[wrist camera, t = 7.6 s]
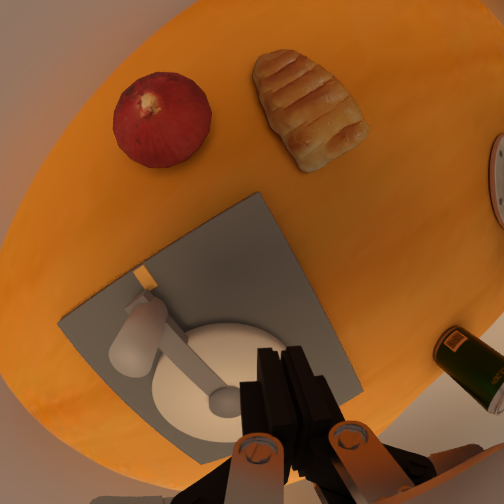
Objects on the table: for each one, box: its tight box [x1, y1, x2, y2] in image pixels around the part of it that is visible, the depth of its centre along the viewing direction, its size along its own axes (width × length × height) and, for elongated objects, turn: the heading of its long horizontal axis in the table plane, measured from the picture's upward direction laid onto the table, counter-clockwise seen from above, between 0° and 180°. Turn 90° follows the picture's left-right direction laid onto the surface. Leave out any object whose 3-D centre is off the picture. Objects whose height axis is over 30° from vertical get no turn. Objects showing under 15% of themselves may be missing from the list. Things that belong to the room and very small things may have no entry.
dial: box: [109, 289, 286, 443], centre depth 18 cm, size 16×12×7 cm
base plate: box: [57, 191, 364, 465], centre depth 22 cm, size 20×22×1 cm
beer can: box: [434, 327, 504, 416], centre depth 21 cm, size 5×5×12 cm
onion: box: [113, 72, 212, 168], centre depth 14 cm, size 6×6×8 cm
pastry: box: [252, 50, 369, 172], centre depth 17 cm, size 9×7×4 cm
